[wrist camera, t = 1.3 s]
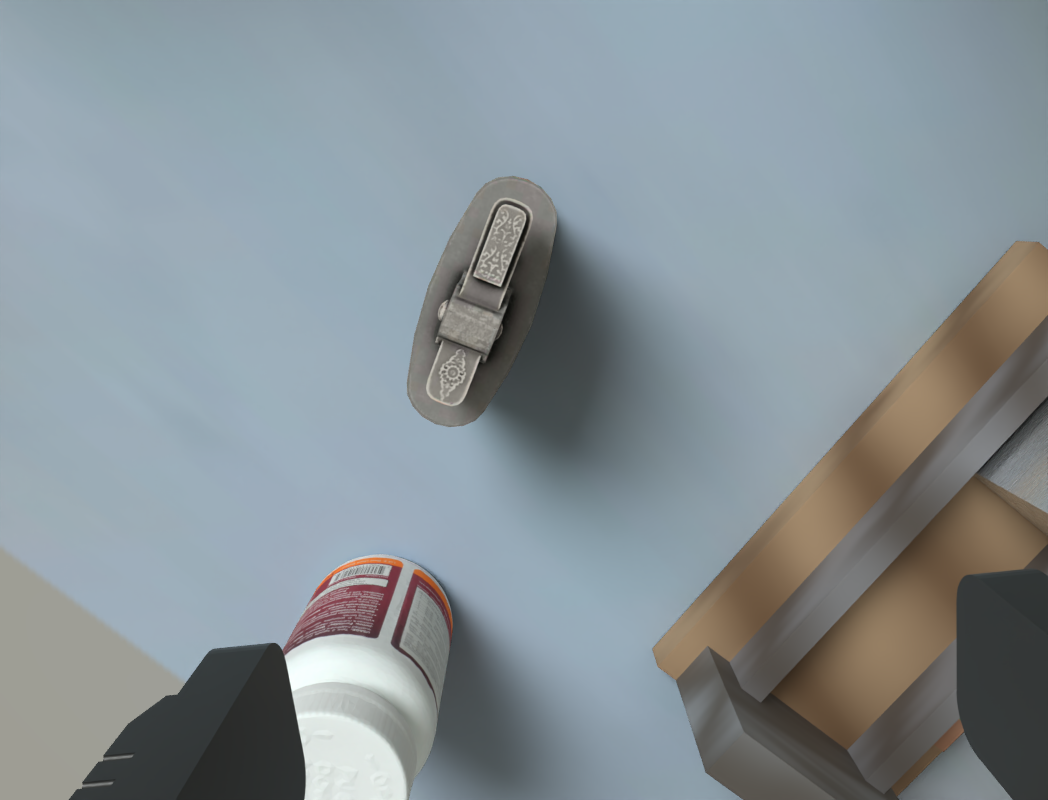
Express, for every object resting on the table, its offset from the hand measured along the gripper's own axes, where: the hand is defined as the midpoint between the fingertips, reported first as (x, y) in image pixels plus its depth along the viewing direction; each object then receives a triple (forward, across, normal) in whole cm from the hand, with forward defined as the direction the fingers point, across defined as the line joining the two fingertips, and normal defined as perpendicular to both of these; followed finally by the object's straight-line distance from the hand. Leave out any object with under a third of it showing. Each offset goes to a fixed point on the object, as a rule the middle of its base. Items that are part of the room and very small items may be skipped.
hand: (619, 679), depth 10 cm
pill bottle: (+24, +9, +11) cm, 28 cm away
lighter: (+25, +2, -3) cm, 25 cm away
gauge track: (+24, -15, +10) cm, 30 cm away
